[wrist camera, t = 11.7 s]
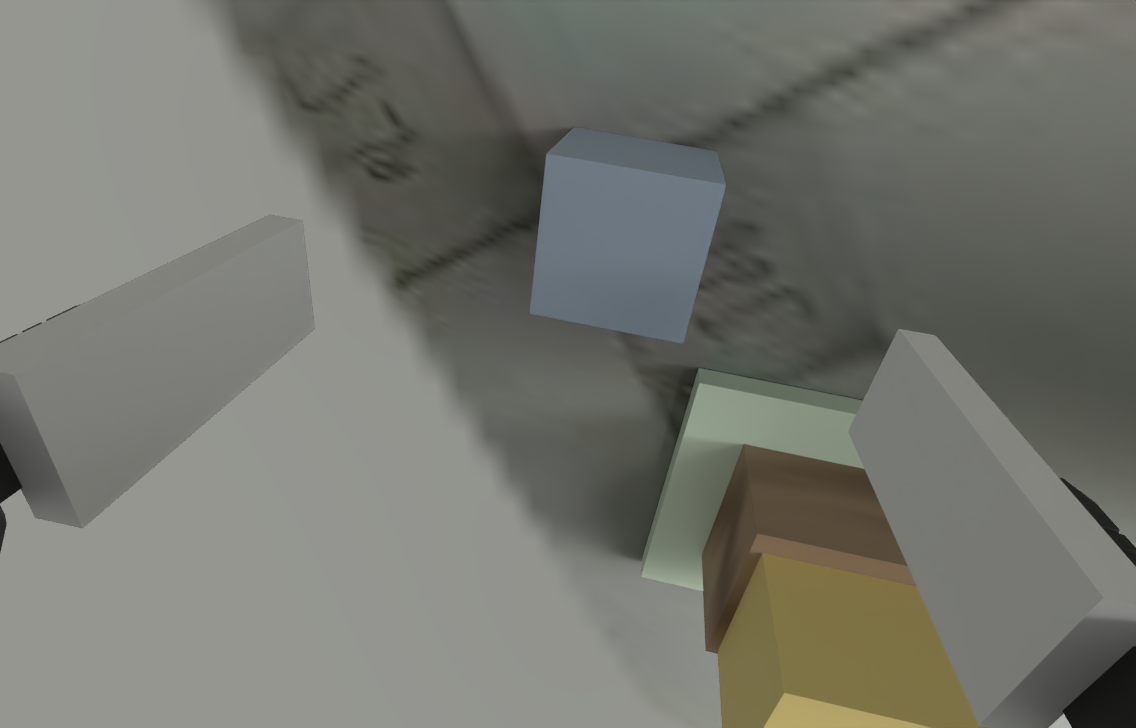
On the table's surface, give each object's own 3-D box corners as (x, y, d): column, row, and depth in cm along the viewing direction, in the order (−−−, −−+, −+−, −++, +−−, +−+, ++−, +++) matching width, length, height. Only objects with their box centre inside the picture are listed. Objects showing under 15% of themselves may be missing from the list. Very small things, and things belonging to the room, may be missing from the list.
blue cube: (574, 126, 20) (546, 153, 16) (716, 150, 20) (726, 184, 15) (557, 259, 23) (529, 313, 18) (682, 283, 22) (683, 343, 18)
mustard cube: (762, 552, 20) (784, 693, 16) (936, 591, 20) (1006, 745, 16) (717, 651, 23) (726, 789, 19) (867, 686, 23) (909, 836, 19)
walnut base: (743, 443, 24) (757, 533, 20) (913, 479, 24) (965, 578, 19) (701, 555, 28) (705, 650, 23) (848, 587, 27) (879, 691, 23)
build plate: (698, 367, 24) (699, 382, 23) (994, 426, 23) (1009, 444, 22) (642, 558, 30) (640, 576, 29) (873, 610, 29) (880, 631, 28)
